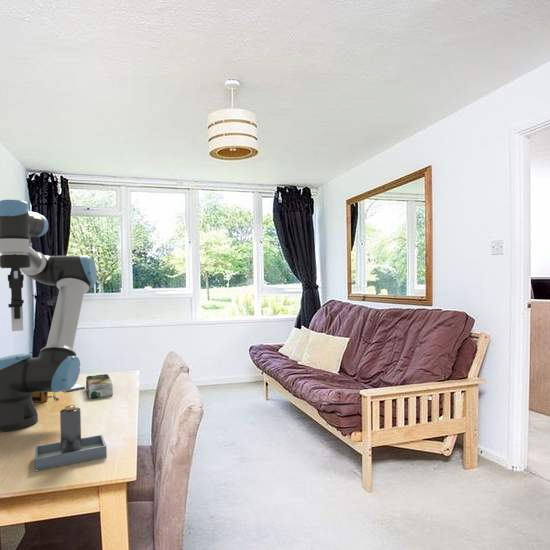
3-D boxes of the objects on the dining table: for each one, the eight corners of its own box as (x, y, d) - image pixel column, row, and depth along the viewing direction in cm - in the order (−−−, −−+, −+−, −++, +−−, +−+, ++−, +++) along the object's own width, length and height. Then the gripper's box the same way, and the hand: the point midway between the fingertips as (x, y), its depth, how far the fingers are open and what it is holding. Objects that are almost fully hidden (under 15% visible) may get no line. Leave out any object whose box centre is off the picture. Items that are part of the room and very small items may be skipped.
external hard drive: (65, 393, 189) (56, 388, 198) (85, 390, 195) (75, 385, 204) (65, 390, 189) (56, 385, 198) (84, 386, 195) (75, 381, 204)
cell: (60, 453, 120) (59, 405, 120) (80, 449, 122) (79, 402, 122) (61, 459, 115) (60, 410, 115) (82, 455, 118) (81, 407, 118)
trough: (35, 457, 119) (35, 446, 119) (102, 444, 127) (102, 434, 127) (35, 471, 110) (34, 459, 110) (106, 457, 118) (106, 445, 118)
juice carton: (114, 396, 181) (114, 381, 181) (89, 400, 177) (88, 385, 177) (109, 386, 199) (108, 373, 199) (85, 389, 195) (85, 376, 195)
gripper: (31, 252, 117) (34, 331, 117) (28, 255, 138) (30, 322, 138) (-2, 252, 113) (1, 334, 113) (0, 255, 134) (2, 324, 135)
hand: (17, 328), depth 126 cm, fingers open, 13 cm apart
